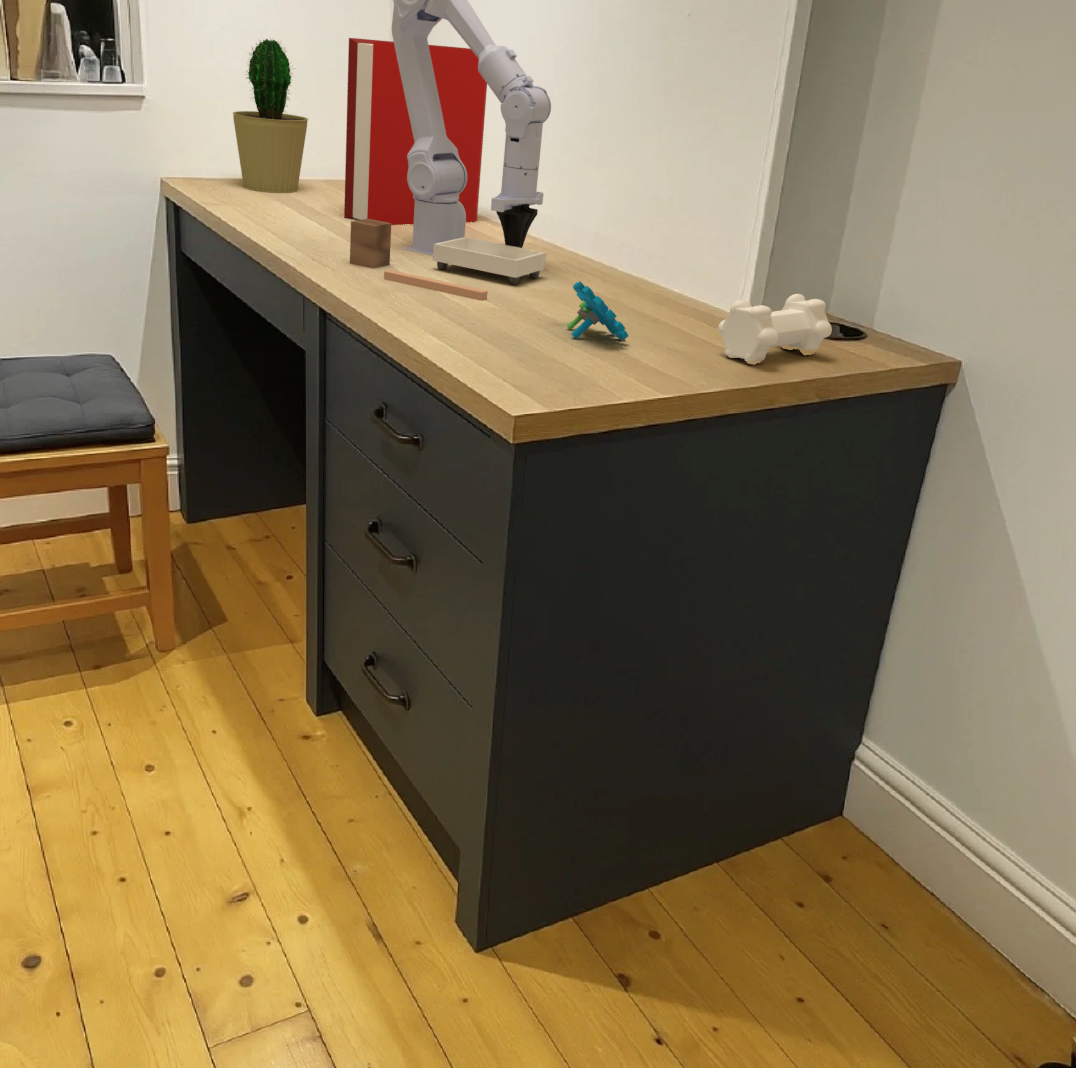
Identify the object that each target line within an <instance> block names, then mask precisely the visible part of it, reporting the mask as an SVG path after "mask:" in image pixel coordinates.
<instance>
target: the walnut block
mask: <svg viewBox="0 0 1076 1068" xmlns="http://www.w3.org/2000/svg"><path fill="white" fill-rule="evenodd" d="M391 241H392V225H391V223H387V222H382V221H377V220H372V219H363V220H360V219H357V220H351V221H350V241H349V242H350V245H349V247H350V249H349V264H351V265H355V266H361V267H365V268H370V269H373V270H374V269H377V268H382V267H386V266H390V264H391V243H392V242H391Z"/></svg>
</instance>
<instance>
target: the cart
mask: <svg viewBox="0 0 1076 1068" xmlns="http://www.w3.org/2000/svg"><path fill="white" fill-rule="evenodd" d="M546 257H547V253H546V252H543V251H538V250H534V249H529V248H523V247H522V248H519V247H514V246H509V245H505V243H504V244H503V243H498V242H495V241H494V242H493V241H488V240H487V241H486V240H483V239H478V238H473V237H468V236H465V237H463V238H459V239H454V240H449V241H445V242H440V243H435V244H434V245H433V255H432V262H433V261H434V262H436V267H437V268H438V269H440V270H444V271H445V270H447V268H448V266H449V265H453V266H458V267H462V268H468V269H473V270H478V271H482V272H485V273H491V274H496V275H502V276H506V277H508V284H511V285H515V286H516V285H518V284H519V282H520V278H521V277H523V276H526V275H528V276H529V277H530V278H532V279H538V278H539V277H540V273H541V271H543V270H545V267H546Z"/></svg>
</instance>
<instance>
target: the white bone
mask: <svg viewBox="0 0 1076 1068" xmlns="http://www.w3.org/2000/svg"><path fill="white" fill-rule="evenodd" d="M826 306H827V305H826V303H825V301H824V300H822V299H819V298H812V299H808V300H806V297H805V296H804V295H803V294H801V293H794V294H792V295H790V296H789V297H787V298H786V300H785V303H784V306H783V308H782V309H781V310H775V311H772V309H771V308H770V307H769V306H767V305H762V304H760V305H755V306H752V304H751V303H750V301H749V300H746V299H740V300H736V301H735V302H734V303H732V305H730V309H729V313H728V315H727V316H726V317H725V319H723V320H721V321H720V323H718V326H717V327H718V328H717V329H718V333H719V334H720V335H721V338H722V342H723V344H724V347H725V349H724V355H725V354H726V355H729V356H732V357H733V356H734V357H738V358H740V359H743V360H744V362H745V361H750V362H756V361H757V362H758V361H762V360H763V361H764V360H765V358H766V356H767V353H768V351H769V350H770V348H776V347H780V346H783V345H788V346H790V347H797V348H800V349H802V350H815V349H818V348H819V349H820V344H821V343H822V342H823V340H824V339H826V338H828V337H830V335H831V334H832V332H833V331H832V330H833V329H832V325H831V323H830V322H829V320H828V318H827V314H826V310H825V309H826ZM819 349H818V350H819ZM726 355H725V356H726ZM763 361H762V362H763Z"/></svg>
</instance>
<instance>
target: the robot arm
mask: <svg viewBox="0 0 1076 1068" xmlns="http://www.w3.org/2000/svg"><path fill="white" fill-rule="evenodd" d="M392 2H393V11H392V12H393V13H392V21H391V34H392V35H391V36H392V40H393V41H392V42H394V46H395V51H396V55H397V60H398V65H399V70H400V75H401V79H402V84H403V89H404V94H405V99H406V104H407V108H408V113H409V118H410V123H411V128H412V132H413V137H414V145H413V147H412V148H411V150H410V151H409V153H408V155H407V159H408V166H409V167H408V174H407V181H408V185H409V188H410V190H411V191H412V193H413V199H415V206H414V224H413V225H412V226H413V229H412V231H413V232H412V245H409V246H408V245H407V246H404V247H402V250H406V251H411V252H414V253H415V252H416V253H420V254H425V255H429V256H430V255H431V256H433V245H434V244H435V243H440V242H445V241H449V240H454V239H459V238H463V237H466V236H465V235H466V223H467V222H466V212H465V209H464V207H463V205H462V204H461V202H459V201H458V200H459V193H461V192H462V191H463V190H464V188H465V186H466V183H467V171H466V168H465V166H464V164H463V163H462V162H461V160H460V158H459V155H458V150H457V148H456V147H455V145H454V144H453V143H452V142H451V141H450V140H449V139H448V138H447V135H446V130H445V125H444V120H443V115H442V110H441V105H440V100H439V95H438V90H437V85H436V80H435V75H434V70H433V65H432V60H431V55H430V50H429V45H430V44H429V40H428V37H429V35H430V34H431V32H432V30H433V29H434V27H436V25H438V23H439V22H441V21H442V20H445V21H448V22H449V24H450V25H451V26H452V28H453V29H454V30H455V31H456V32H457V34H458V35H459V36H460V38H461V39H462V40H463V41H464V42H465V43H466V45H467V46H468V47H469V49H471V50H472V51H473V52H474V53H475V55H476V56H477V57H478V59H479V62H478V71H479V73H480V74H481V76H482V77H483V78H484V80H485V81H486V83H487V86H488V88H490V90H491V91H492V93H493V94H494V95H495V97H496V98H497V99H498V101H499V103H500V112H501V117H502V118H503V120H504V123H505V128H504V132H505V139H504V140H505V142H504V152H503V153H504V155H503V166H502V176H501V177H502V178H501V189H500V193H499V194H497V195H496V196H494V197H491V203H490V204H491V207H490V211H493V212H495V213H496V215H497V217H498V219H499V221H500V224H501V227H502V232H503V237H504V245H509V246H514V247H519V248H523V247H524V244H525V241H526V237H527V236H528V235H527V234H528V232H529V230H530V227H531V226H532V223H533V222H534V220H535V219H536V217H537V216H538V212H539V211H538V209H537V208H532V207H530V206H533V205H539V206H540V205H541V206H542V205H543V203H544V202H543V201H544V192H542V191H541V192H540V191H537V189H538V181H539V180H538V176H539V168H540V159H541V158H540V157H541V148H542V147H541V146H542V140H543V139H542V137H543V127H544V126H543V125H544V123H545V122H546V121H547V120H548V119H549V117H550V115H551V111H552V102H551V99H550V96H549V95H548V92H547V90H546V89H545V88H543V87H541V86H536V85H534V84H533V83H534V80H533V78H532V77H531V76H530V75H527V73H526V71H524V69H523V68H522V67H521V65H520V64H519V63H518V61H517V59H516V58H517V56H518V55H517V53H516V52H515V51H514V50H513V49H509V48H508V47H507V46H505V45H497V44H496V42H495V41H494V40H493V38H492V36H491V35H490V34H489V32H488V30H487V29H486V28H485V26H484V24H483V22H482V21H481V19H480V17H479V16H478V15H477V13H476V11H475V10H474V8H473V7H472V5H471V3H470V1H468V0H392Z"/></svg>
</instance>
